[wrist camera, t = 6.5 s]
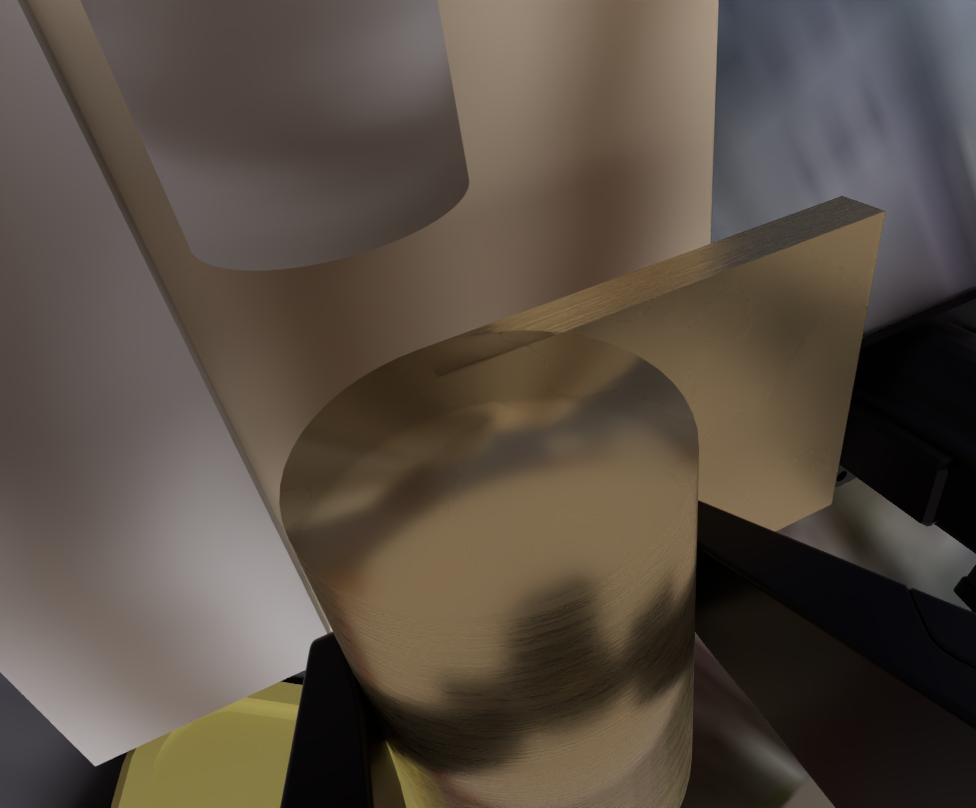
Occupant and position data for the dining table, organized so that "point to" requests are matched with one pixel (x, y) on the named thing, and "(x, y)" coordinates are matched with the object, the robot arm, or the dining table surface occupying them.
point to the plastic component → (221, 758)
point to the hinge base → (278, 285)
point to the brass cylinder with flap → (575, 508)
